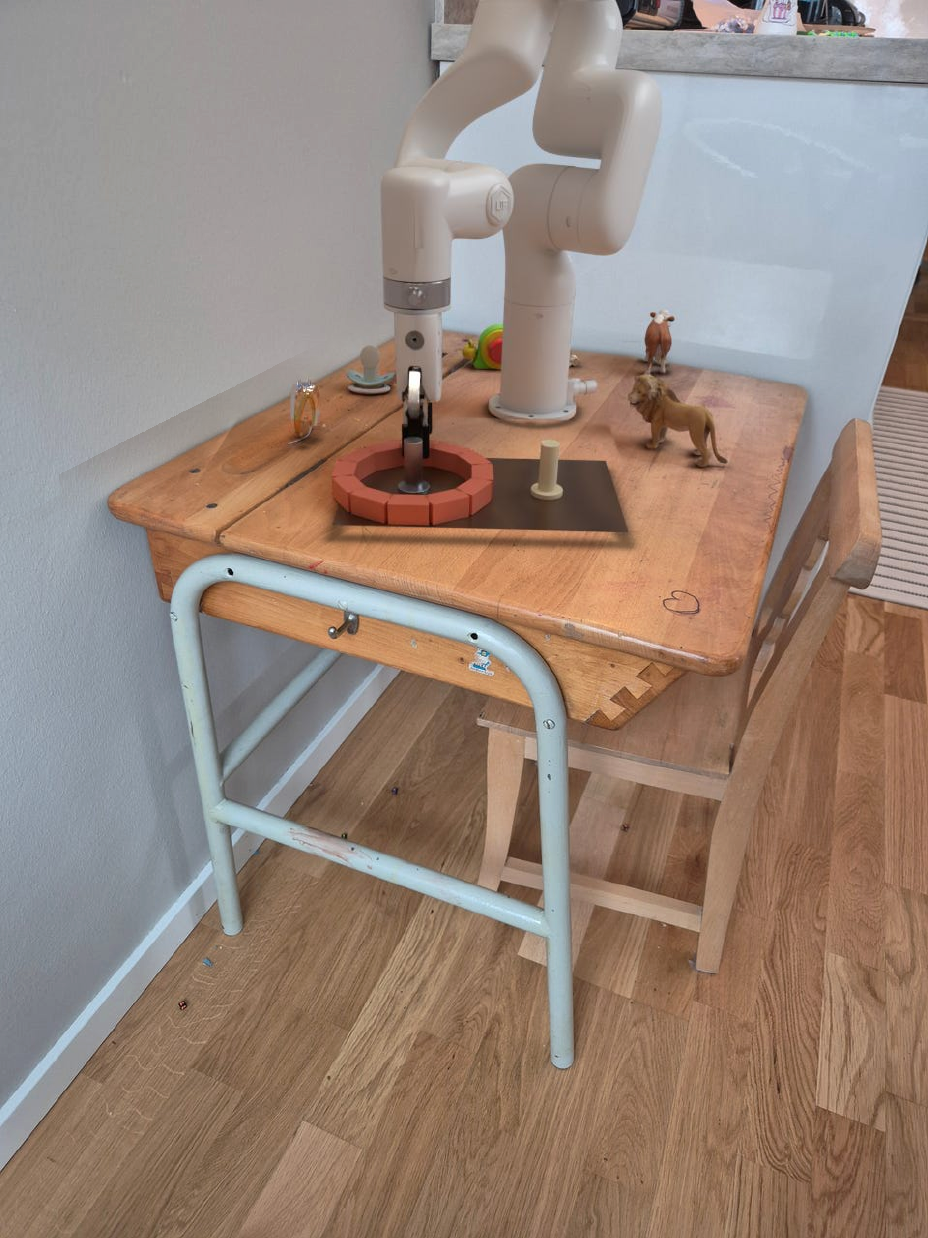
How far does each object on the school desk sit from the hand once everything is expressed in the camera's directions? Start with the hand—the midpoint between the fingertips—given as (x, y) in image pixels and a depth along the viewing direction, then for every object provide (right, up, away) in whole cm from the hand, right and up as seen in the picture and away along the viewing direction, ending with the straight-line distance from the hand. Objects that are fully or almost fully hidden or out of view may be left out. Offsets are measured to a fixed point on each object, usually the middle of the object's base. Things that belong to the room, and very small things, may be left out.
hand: (417, 443), depth 105 cm
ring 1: (-15, +2, +8) cm, 17 cm away
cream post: (+15, -7, -8) cm, 18 cm away
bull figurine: (+37, +20, +38) cm, 57 cm away
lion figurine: (+33, 0, +7) cm, 33 cm away
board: (+7, -8, -7) cm, 13 cm away
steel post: (0, -7, -8) cm, 10 cm away
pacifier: (-9, +13, +26) cm, 30 cm away
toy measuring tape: (+15, +20, +37) cm, 45 cm away
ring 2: (0, -7, -8) cm, 10 cm away
